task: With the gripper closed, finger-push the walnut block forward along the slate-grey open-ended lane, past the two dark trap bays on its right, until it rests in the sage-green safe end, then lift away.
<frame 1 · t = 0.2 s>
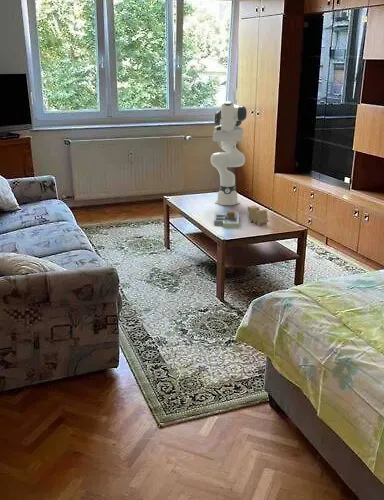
hand: (227, 148, 355), 47 cm above the table, fingers open, 8 cm apart
toy train: (257, 223, 351), on the table
trap lane: (230, 221, 355), on the table
block: (231, 218, 362), on the table
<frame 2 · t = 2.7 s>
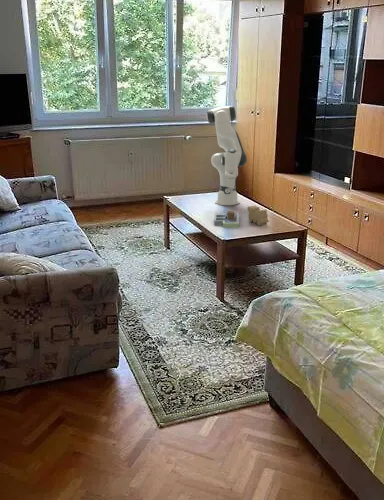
hand: (231, 192, 364), 16 cm above the table, fingers closed
nothing on the table moved.
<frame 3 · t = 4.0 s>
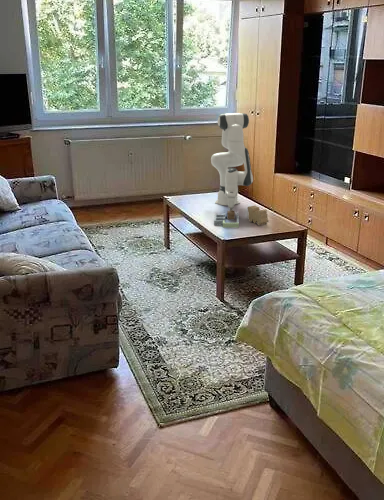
hand: (231, 211, 368), 3 cm above the table, fingers closed
nothing on the table moved.
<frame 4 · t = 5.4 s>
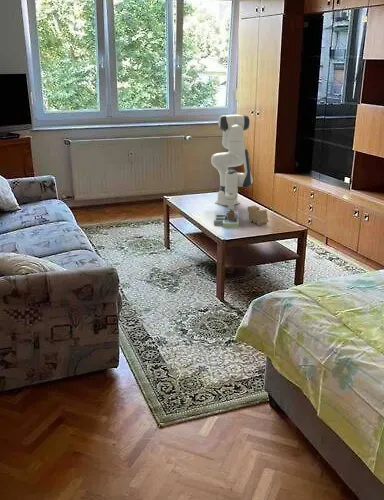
hand: (231, 212, 364), 3 cm above the table, fingers closed
block: (231, 218, 361), on the table, touching gripper
everything else where it was.
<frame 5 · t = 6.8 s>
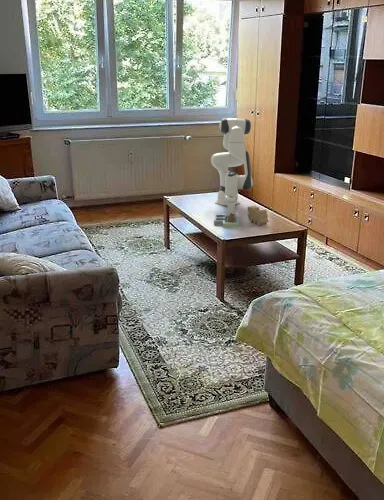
hand: (231, 216, 356), 3 cm above the table, fingers closed
block: (231, 222, 354), on the table, touching gripper
everything else where it was.
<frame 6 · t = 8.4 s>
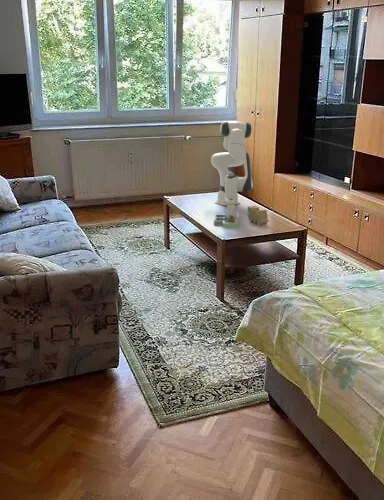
hand: (230, 218, 351), 3 cm above the table, fingers closed
block: (230, 224, 348), on the table, touching gripper
everything else where it was.
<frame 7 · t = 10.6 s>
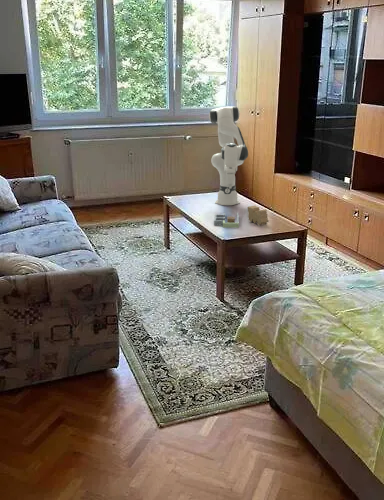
hand: (230, 188, 352), 22 cm above the table, fingers closed
block: (230, 224, 348), on the table
everything else where it was.
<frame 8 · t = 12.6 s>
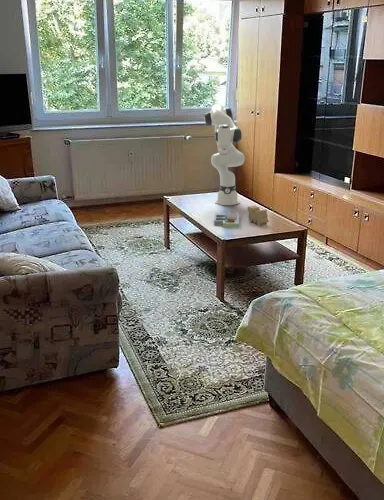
hand: (224, 169, 355), 33 cm above the table, fingers closed
nothing on the table moved.
at the end: block inside the target area on the trap lane (0.2 cm from its centre), point 0.0 cm above the trap lane's base; block moved 14.6 cm from its start; block tilted 0° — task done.
